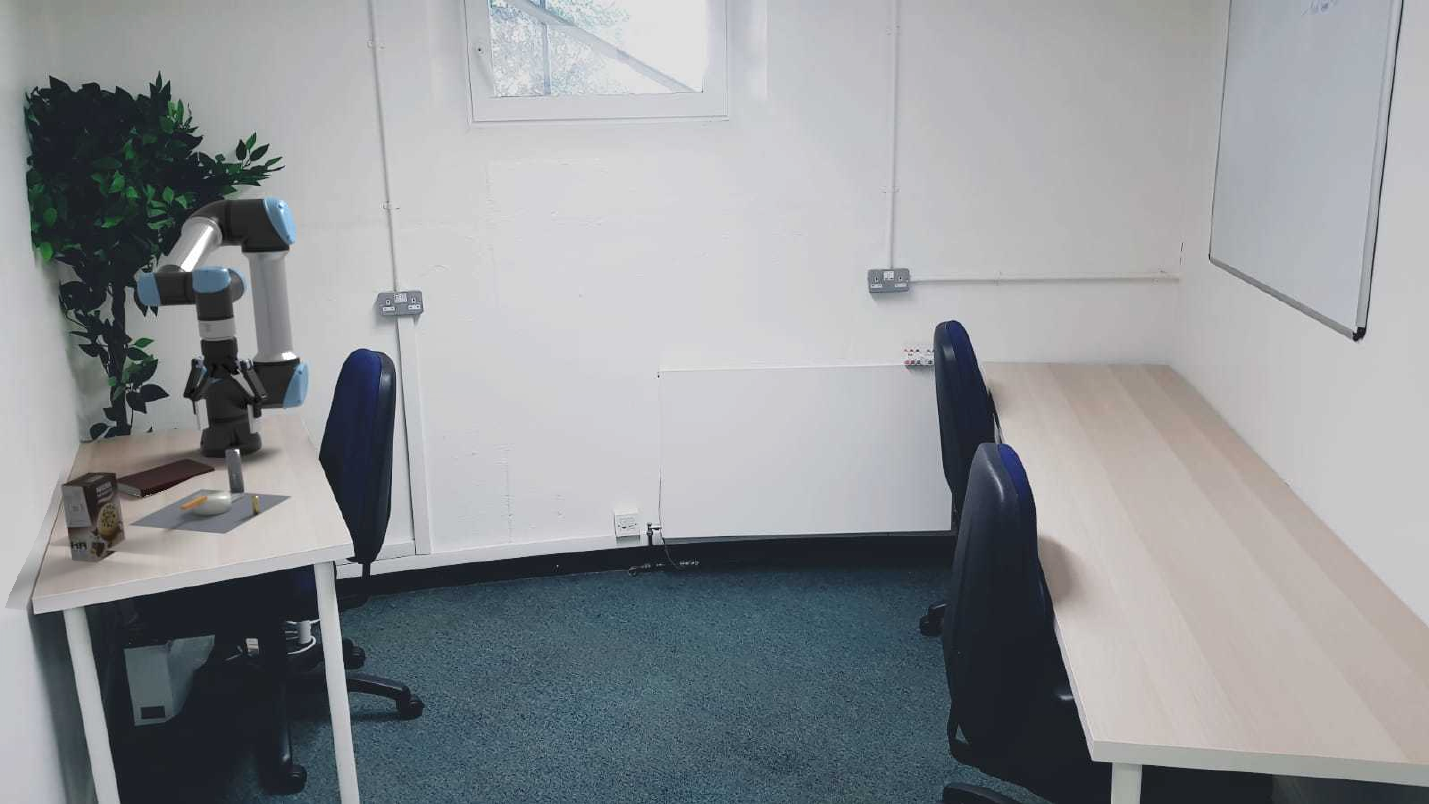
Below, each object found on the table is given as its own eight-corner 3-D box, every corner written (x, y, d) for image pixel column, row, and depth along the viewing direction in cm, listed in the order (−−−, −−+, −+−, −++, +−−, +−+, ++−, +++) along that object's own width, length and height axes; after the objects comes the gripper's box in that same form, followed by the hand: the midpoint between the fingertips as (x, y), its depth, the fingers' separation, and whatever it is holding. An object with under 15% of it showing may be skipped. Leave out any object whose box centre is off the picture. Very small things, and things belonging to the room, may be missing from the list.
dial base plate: (202, 495, 282) (199, 472, 280) (292, 502, 275) (290, 479, 274) (129, 531, 259) (125, 507, 258) (225, 540, 253) (222, 515, 252)
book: (216, 478, 295) (215, 465, 295) (142, 500, 280) (140, 487, 279) (187, 470, 302) (185, 457, 302) (112, 491, 287) (110, 478, 286)
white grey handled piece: (201, 524, 257) (194, 475, 255) (169, 521, 259) (162, 473, 257) (257, 495, 276) (251, 449, 273) (227, 492, 278) (221, 447, 275)
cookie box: (99, 562, 242) (87, 486, 238) (71, 560, 243) (58, 485, 239) (128, 545, 251) (117, 471, 247) (100, 544, 252) (88, 470, 248)
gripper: (158, 338, 265) (170, 431, 271) (256, 342, 259) (267, 437, 264) (181, 332, 272) (193, 423, 278) (277, 335, 266) (287, 428, 271)
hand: (229, 430), depth 271 cm, fingers open, 13 cm apart
